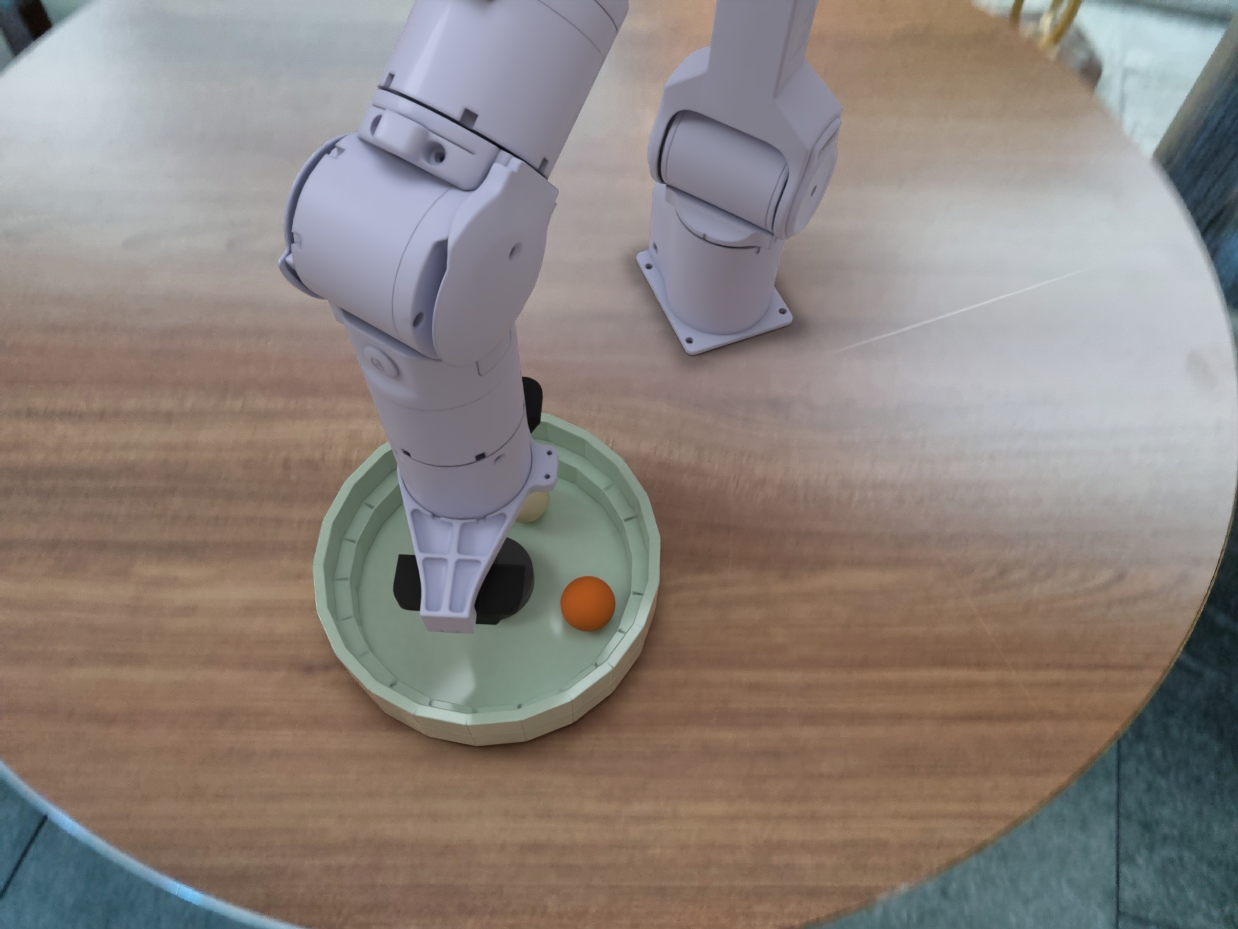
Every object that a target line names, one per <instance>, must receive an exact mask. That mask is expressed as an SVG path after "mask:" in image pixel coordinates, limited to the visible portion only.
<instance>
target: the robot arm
mask: <svg viewBox="0 0 1238 929" xmlns="http://www.w3.org/2000/svg"><path fill="white" fill-rule="evenodd" d="M818 3H819V0H716V3H715V9H714V15H713V16H714V17H713V23H712V31H711V38H710V44H709V45H705V46H702V47H700V48H698V49H696V50H694V51H692V52H691V53H690V54H688V55H687V57H685V58H684V59H683V60H682V61H681V62H680V63H679V64H678V65H677V66H676V68H675V69H674V71H673V72H672V73H671V74H670V76H669V77H668V79H667V80H666V82H665V83H664V85H663V88H662V93H661V99H660V103H659V108H658V111H657V114H656V117H655V120H654V123H653V126H652V127H651V131H650V135H649V137H648V143H647V151H646V159H647V160H646V161H647V164H648V170H649V175H650V177H651V178H652V179H653V181H654V182H655V184H654V186H653V189H652V194H651V211H650V224H649V239H648V249H646V250H642V251H639V252H637V254H636V257H635V258H636V259H635V260H636V263H637V265H638V266H639V268H640V270H641V272H642V274H643V276H644V278H645V280H646V282H647V283H648V285H649V287H650V289H651V291H652V293H653V294H654V296H655V298H656V300H657V302H658V303H659V305H660V308H661V309H662V311H663V313H664V315H665V316H666V318H667V320H668V322H669V324H670V326H671V328H672V329H673V331H674V333H675V335H676V337H677V338H678V340H679V342H680V344H681V346H682V348H683V350H684V351H685V353H686V354H688V355H689V356H697V355H699V354H702V353H706V352H709V351H712V350H715V349H717V348H721V347H724V346H727V345H730V344H733V343H736V342H740V341H744V340H747V339H749V338H752V337H756V336H759V335H762V334H765V333H768V332H772V331H775V330H778V329H782V328H784V327H787V326H790V325H791V324H792V323H793V321H794V316H793V314H792V312H791V310H790V309H789V307H788V305H787V304H786V303H785V301H784V299H783V297H782V296H781V294H780V292H778V290H777V288H776V286H775V283H776V279H777V275H778V271H779V266H780V262H781V259H782V254H783V251H784V248H785V242H786V241H787V240H789V239H791V238H792V237H795V236H797V235H799V234H801V232H802V231H803V230H804V229H805V228H806V227H807V225H808V224H809V222H810V221H811V220H812V218H813V217H814V215H815V213H816V211H817V209H818V208H819V206H820V204H821V202H822V199H823V198H824V196H825V194H826V192H827V189H828V187H829V185H830V182H831V180H832V178H833V175H834V171H835V169H836V166H837V161H838V157H839V150H838V141H839V135H840V131H841V127H842V126H841V125H842V119H841V116H842V113H843V110H844V109H843V106H842V104H841V103H840V100H839V99H838V98H837V97H836V95H835V94H834V93H833V91H832V90H831V89H830V88H829V87H828V85H827V83H825V82H824V80H823V79H822V78H821V76H820V74H818V73H817V71H816V70H815V69H814V68H813V67H812V65H811V64H810V63H809V61H808V59H807V58H806V53H807V50H808V44H809V40H810V37H811V32H812V28H813V24H814V21H815V20H814V19H815V16H816V11H817V7H818ZM629 9H630V2H629V0H414V2H413V4H412V7H411V8H410V11H409V14H408V16H407V18H406V20H405V23H404V25H403V27H402V29H401V31H400V33H399V36H398V38H397V40H396V43H395V45H394V47H393V50H392V52H391V54H390V56H389V58H388V61H387V63H386V65H385V67H384V69H383V72H382V74H381V76H380V79H379V81H378V83H377V85H376V87H377V88H375V90H374V92H373V94H372V97H371V99H370V101H369V103H368V105H367V107H366V110H365V112H364V114H363V116H362V120H361V121H360V124H359V126H358V129H357V130H355V131H352V132H347V133H342V134H339V135H335V136H334V137H332V138H330V139H328V140H327V141H324V142H323V143H322V144H321V146H319V147H318V148H316V149H315V150H314V151H313V152H312V153H311V154H310V155H309V157H308V158H307V159H306V160H305V162H304V163H303V165H302V166H301V167H300V169H299V170H298V173H297V174H296V176H295V178H294V180H293V181H292V185H291V186H290V189H289V192H288V194H287V198H286V202H285V206H284V212H283V224H282V225H283V238H284V243H285V248H284V251H283V253H282V254H281V255H280V257H279V258H278V260H277V267H278V270H279V271H280V273H281V275H282V276H283V278H284V279H285V281H287V282H288V283H289V284H290V285H291V286H292V287H294V288H295V289H297V290H298V291H300V292H302V293H303V294H306V295H307V296H309V297H311V298H314V299H318V300H324V301H327V302H328V303H329V306H330V309H331V311H332V313H333V316H334V318H335V320H336V321H337V322H339V323H340V324H342V325H344V327H345V330H346V332H347V334H348V338H349V341H350V343H351V347H352V348H353V351H354V354H355V356H356V359H357V361H358V364H359V367H360V369H361V372H362V375H363V377H364V380H365V383H366V385H367V389H368V392H369V394H370V396H371V399H372V402H373V404H374V407H375V409H376V413H377V415H378V417H379V420H380V423H381V425H382V429H383V430H384V433H385V436H386V439H387V442H388V441H389V444H390V446H391V449H392V451H393V454H394V457H395V459H396V462H397V474H398V481H399V485H400V489H401V494H402V498H403V503H404V507H405V512H406V516H407V520H408V525H409V529H410V534H411V538H412V542H413V547H414V551H415V555H408V554H399V555H398V561H397V566H396V572H395V578H394V583H393V593H394V597H395V598H396V600H397V602H398V604H399V606H400V607H401V608H402V609H404V610H410V611H420V616H421V618H422V621H423V623H424V625H425V627H426V629H427V631H429V632H444V633H470V634H472V633H474V631H475V624H484V625H497V624H498V623H499V622H500V620H501V619H502V616H503V615H513V614H515V613H516V612H517V611H518V609H519V606H520V604H521V601H522V597H523V589H524V579H525V570H526V565H520V564H499V563H493V562H494V560H495V558H496V556H497V554H498V552H499V551H500V549H501V547H502V545H503V543H504V541H505V539H506V537H507V535H508V534H509V532H510V530H511V528H512V526H513V524H514V522H515V520H516V518H517V516H518V515H519V513H520V511H521V509H522V507H523V505H524V503H525V501H526V499H527V498H528V496H529V495H530V494H532V493H533V492H547V491H551V490H552V489H554V488H555V486H556V484H557V477H558V465H559V456H558V451H557V449H556V448H555V447H554V446H551V445H542V444H537V443H536V442H534V440H533V439H532V437H531V434H532V432H533V431H534V430H535V429H536V427H537V426H538V425H539V424H540V422H541V413H543V402H544V392H543V387H542V385H541V384H540V383H539V382H538V381H537V380H536V379H535V378H533V377H529V376H523V375H522V367H521V359H520V358H521V357H520V348H519V342H518V333H517V325H516V324H517V323H516V321H517V320H518V318H519V316H520V315H521V313H522V311H523V309H524V307H525V306H526V303H527V302H528V299H529V298H530V297H531V294H532V293H533V291H534V289H535V287H536V285H537V282H538V278H539V276H540V273H541V269H542V266H543V262H544V257H545V253H546V247H547V246H546V245H547V234H548V228H549V225H550V221H551V219H552V215H553V213H554V211H555V209H556V207H557V205H558V204H557V202H556V201H557V197H558V196H559V192H560V190H559V188H558V187H556V185H554V184H553V183H552V182H550V181H549V178H550V176H551V174H552V172H553V170H554V168H555V166H556V164H557V161H558V159H559V158H560V155H561V153H562V151H563V149H564V148H565V145H566V142H567V141H568V139H569V136H570V135H571V132H572V130H573V128H574V126H575V124H576V122H577V120H578V117H579V115H580V113H581V111H582V109H583V108H584V105H585V104H586V100H587V99H588V96H589V95H590V93H591V90H592V88H593V87H594V84H595V82H596V80H597V78H598V76H599V74H600V72H601V70H602V68H603V65H604V64H605V61H606V59H607V58H608V55H609V53H610V51H611V48H612V47H613V44H614V42H615V41H616V38H617V36H618V34H619V33H620V30H621V28H622V26H623V24H624V22H625V20H626V18H627V17H628V16H627V15H628V13H629ZM689 342H691V343H689Z"/></svg>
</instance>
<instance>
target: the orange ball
mask: <svg viewBox="0 0 1238 929" xmlns="http://www.w3.org/2000/svg"><path fill="white" fill-rule="evenodd" d="M560 604H561V611H562V614H563V617H564V618H565V620H566V621H567V622H568V623H569V624H570V625H571V626H572V627H574V628H575V629H578V630H581V631H595V630H598V629H600V628H602V627H604V626H605V625H606V624H607V623H608V622H609V621H610V620H611V618H612V616H613V614H614V611H615V596H614V593H613V591H612V589H611V588H610V586H609V585H608V584H607V583H606V582H604V581H603V580H601V579H599V578H597V577H593V576H583V577H579V578H577V579H575V580H573V581H572V582H570V583H569V584H568V585H567V587H566V588H565V589H564V591H563V593H562V596H561V603H560Z"/></svg>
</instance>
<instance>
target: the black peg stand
mask: <svg viewBox="0 0 1238 929" xmlns="http://www.w3.org/2000/svg"><path fill="white" fill-rule="evenodd" d="M493 563H499V564H520V565H526V570H525V579H524V589H523V597H522V601H521V604H520V606H519V609H518V611H519V610H521V609H522V608H523V607H524V606H525V604H526V603H527V602H528V600H529V598H530V597H531V594H532V592H533V588H534V570H533V564H532V561H531V558H530V556H529V554H528V553H527V551H526V550H525V549H524V548H523V546H521V545H520V544H519V543H518V542H516V541H515V540H513V539H511V538H508V537H506V539H505V541H504V543H503V545H502V547H501V549H500V551H499V552H498V554H497V556H496V558H495V560H494V562H493ZM518 611H517V612H518ZM517 612H516V613H517ZM513 615H514V614H513ZM510 616H512V615H503V616H502V619H506V618H508V617H510ZM502 619H501V620H502Z"/></svg>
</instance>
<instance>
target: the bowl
mask: <svg viewBox="0 0 1238 929" xmlns="http://www.w3.org/2000/svg"><path fill="white" fill-rule="evenodd" d="M531 437H532V439H533V440H534V442H536V443H537V444H542V445H551V446H554V447H555V448H556V449H557V451H558V456H559V465H558V477H557V484H556V486H555V488H554V489H552V490H551V491H549V503H548V506H547V509H546V510H545V512H544V513H543V514H542V515H541V516H540V517H539V518H538V519H536V520H534V521H532V522H528V523H519V522H514V524H513V526H512V528H511V530H510V532H509V534H508V535H507V537H508V538H511V539H513V540H515V541H516V542H518V543H519V544H520V545H521V546H523V548H524V549H525V550H526V551H527V553H528V554H529V556H530V558H531V561H532V564H533V570H534V588H533V592H532V594H531V597H530V598H529V600H528V602H527V603H526V604H525V606H524V607H523V608H522V609H521V610H519V611H518V612H517V613H515V614H514V615H512V616H510V617H508V618H506V619H502V620H500V622H499V623H498V624H497V625H484V624H475V631H474V633H472V634H470V633H444V632H429V631H427V629H426V627H425V625H424V623H423V621H422V618H421V616H420V611H410V610H404V609H402V608H401V607H400V606H399V604H398V602H397V600H396V598H395V597H394V593H393V583H394V578H395V572H396V566H397V561H398V555H399V554H408V555H415V551H414V547H413V542H412V538H411V534H410V529H409V525H408V520H407V516H406V512H405V507H404V503H403V498H402V494H401V489H400V485H399V481H398V474H397V462H396V459H395V457H394V454H393V451H392V449H391V446H390V444H389V441H388V440H387V441H386V442H384V443H383V444H381V445H379V446H378V447H376V449H375V450H374V451H373V452H372V453H371V454H370V455H369V456H367V458H366V459H365V460H364V461H363V462H362V463H361V464H360V465H359V466H358V467H357V468H356V469H355V470H354V471H353V472H352V473H351V474H350V475H349V476H348V477H347V478H346V479H345V480H344V481H343V484H342V485H341V487H340V489H339V490H338V493H337V494H336V496H335V498H334V500H333V501H332V502H331V505H330V506H329V508H328V510H327V512H326V514H325V515H324V517H323V519H322V522H321V526H320V530H319V535H318V539H317V544H316V547H315V552H314V557H313V561H312V579H313V589H314V602H315V610H316V615H317V616H318V619H319V622H320V623H321V626H322V628H323V631H324V632H325V635H326V637H327V639H328V641H329V644H330V646H331V648H332V650H333V653H334V655H335V656H336V658H337V660H338V661H339V662H340V663H341V664H342V665H343V667H344V668H345V669H346V671H347V672H348V673H349V675H350V676H351V677H352V679H353V680H354V682H356V683H357V684H358V685H359V687H360V688H362V690H363V691H364V692H365V693H366V694H367V695H368V696H369V697H370V698H371V700H373V702H375V704H376V705H377V706H378V707H379V708H380V709H381V710H382V711H383V712H384V713H385V714H386V715H388V716H390V717H391V718H393V719H395V720H397V721H399V722H401V723H402V724H404V725H406V726H408V727H410V728H412V729H414V730H415V731H416V732H419V733H421V734H422V735H425V736H427V737H430V738H434V739H439V740H445V741H450V742H453V743H459V744H464V745H468V746H474V747H479V746H480V747H482V746H492V745H503V744H512V743H523V742H529V741H531V740H533V739H535V738H538V737H541V736H544V735H547V734H549V733H552V732H554V731H556V730H558V729H562V728H564V727H566V726H568V725H572V724H573V723H575V722H576V721H578V720H579V719H581V717H583V716H584V715H586V714H587V713H588V712H589V711H591V710H592V709H593V708H594V707H596V706H597V705H598V704H600V703H601V702H602V701H604V700H605V699H607V697H609V696H610V695H612V694H613V693H614V691H615V690H616V688H617V687H618V686H619V685H620V683H621V681H622V680H623V679H624V678H625V676H626V675H627V673H628V672H629V671H630V669H631V668H632V667H633V665H634V664H635V663H636V661H637V659H638V658H639V657H640V655H641V653H642V651H643V648H644V645H645V642H646V640H647V636H648V634H649V631H650V627H651V626H652V625H651V624H652V623H653V619H654V616H655V613H656V608H657V602H658V594H659V588H660V581H661V579H660V578H661V577H660V576H661V573H660V572H661V545H662V544H661V542H662V540H661V539H662V538H661V535H660V532H659V531H660V530H659V527H658V525H657V520H656V517H655V514H654V510H653V507H652V504H651V499H650V497H649V495H648V493H647V491H646V490H645V489H644V487H643V486H642V484H641V483H640V481H639V480H638V478H637V477H636V475H635V474H634V472H633V470H632V469H631V467H630V466H629V465H628V463H627V462H626V460H625V459H624V458H623V457H621V456H620V455H619V454H618V453H616V451H614V450H613V449H612V448H610V446H608V445H607V444H606V443H605V442H603V441H602V440H601V439H600V438H599V437H597V436H596V435H595V434H593V432H591V431H589V430H587V429H585V428H582V427H580V426H578V425H575V424H573V423H571V422H569V421H567V420H565V419H562V418H560V417H557V416H555V415H554V414H550V413H546V412H541V422H540V424H539V425H538V426H537V427H536V429H535V430H534V431H533V432H532V434H531ZM583 576H593V577H597V578H599V579H601V580H603V581H604V582H606V583H607V584H608V585H609V586H610V588H611V589H612V591H613V593H614V596H615V611H614V614H613V616H612V618H611V620H610V621H609V622H608V623H607V624H606V625H605V626H604V627H602V628H600V629H598V630H595V631H581V630H578V629H575V628H574V627H572V626H571V625H570V624H569V623H568V622H567V621H566V620H565V618H564V617H563V614H562V611H561V604H560V603H561V596H562V593H563V591H564V589H565V588H566V587H567V585H568V584H569V583H570V582H572V581H573V580H575V579H577V578H579V577H583Z"/></svg>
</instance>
